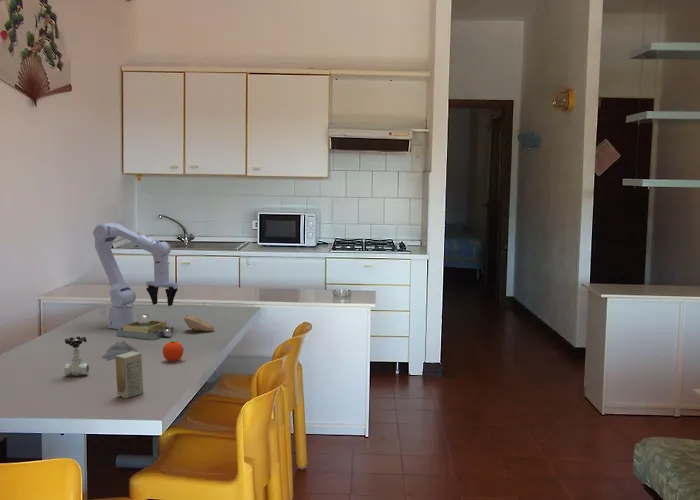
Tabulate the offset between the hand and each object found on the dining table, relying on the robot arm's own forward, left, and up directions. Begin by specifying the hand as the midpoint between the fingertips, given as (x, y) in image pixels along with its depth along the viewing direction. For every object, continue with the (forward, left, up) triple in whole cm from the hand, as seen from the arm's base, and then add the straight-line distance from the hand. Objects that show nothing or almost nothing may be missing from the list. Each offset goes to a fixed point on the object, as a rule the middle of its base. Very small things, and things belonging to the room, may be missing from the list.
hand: (162, 304), depth 278 cm
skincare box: (+41, -71, -11) cm, 83 cm away
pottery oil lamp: (+15, +3, -11) cm, 19 cm away
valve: (+13, -62, -11) cm, 65 cm away
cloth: (+5, -33, -11) cm, 36 cm away
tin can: (-2, -10, -8) cm, 13 cm away
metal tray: (0, -9, -10) cm, 14 cm away
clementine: (+31, -36, -11) cm, 49 cm away
